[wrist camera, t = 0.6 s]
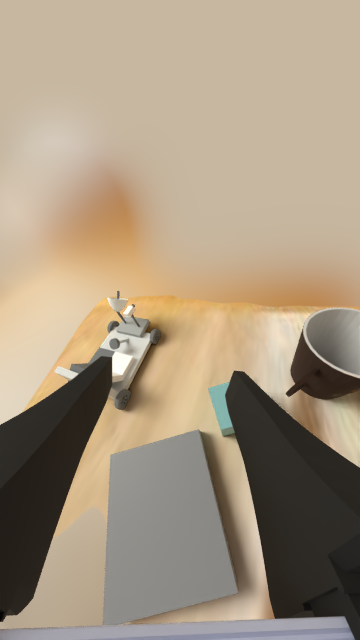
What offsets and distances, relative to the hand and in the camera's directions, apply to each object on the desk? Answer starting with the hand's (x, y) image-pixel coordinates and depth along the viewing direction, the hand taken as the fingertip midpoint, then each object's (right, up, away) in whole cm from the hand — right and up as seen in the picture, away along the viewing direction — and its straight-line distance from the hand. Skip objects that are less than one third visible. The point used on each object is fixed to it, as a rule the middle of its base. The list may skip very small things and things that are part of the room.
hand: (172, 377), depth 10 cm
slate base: (-1, -18, +10) cm, 21 cm away
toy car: (-11, -4, +25) cm, 28 cm away
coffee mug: (+19, -5, +15) cm, 25 cm away
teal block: (+8, -10, +14) cm, 19 cm away
